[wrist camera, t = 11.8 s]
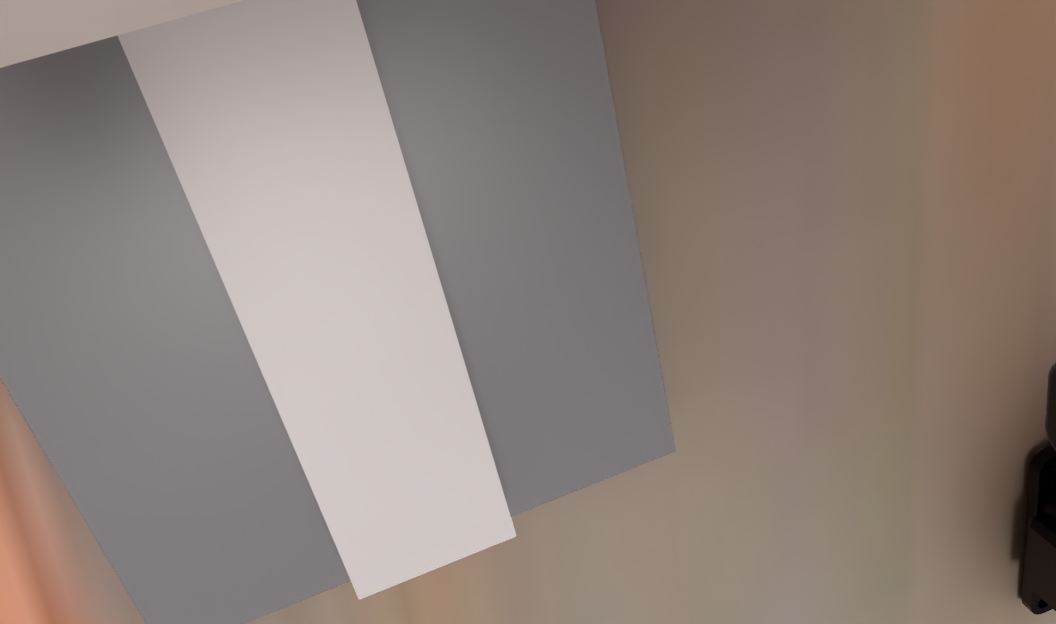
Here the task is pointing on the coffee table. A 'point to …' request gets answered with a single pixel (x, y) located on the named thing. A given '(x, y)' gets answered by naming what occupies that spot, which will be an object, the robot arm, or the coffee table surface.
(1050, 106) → the coffee table surface
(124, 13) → the block
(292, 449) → the rail plate
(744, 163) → the coffee table surface
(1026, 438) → the coffee table surface
